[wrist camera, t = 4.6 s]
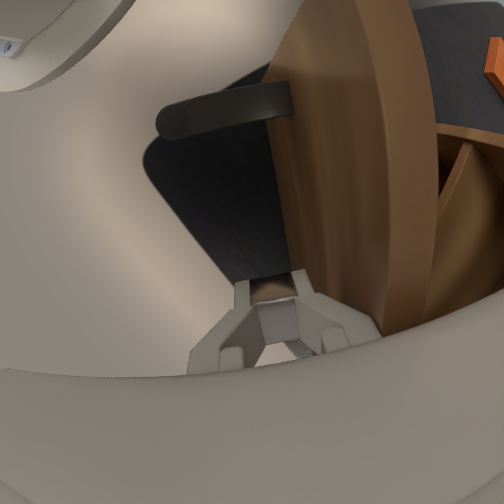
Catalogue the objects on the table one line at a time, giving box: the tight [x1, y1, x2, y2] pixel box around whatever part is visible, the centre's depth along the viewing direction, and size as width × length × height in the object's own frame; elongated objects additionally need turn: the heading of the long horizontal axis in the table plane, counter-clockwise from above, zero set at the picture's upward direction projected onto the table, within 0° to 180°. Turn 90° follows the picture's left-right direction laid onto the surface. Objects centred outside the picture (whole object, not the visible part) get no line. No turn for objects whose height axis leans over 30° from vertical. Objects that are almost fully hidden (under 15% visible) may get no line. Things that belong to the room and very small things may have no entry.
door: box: [156, 0, 439, 356], centre depth 17 cm, size 7×22×22 cm, turn 11°
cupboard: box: [420, 123, 504, 325], centre depth 19 cm, size 16×22×22 cm
